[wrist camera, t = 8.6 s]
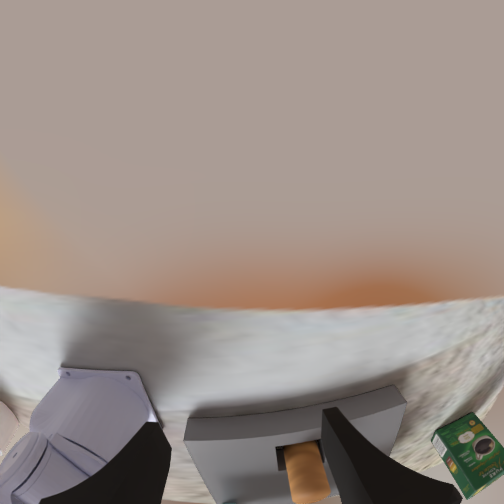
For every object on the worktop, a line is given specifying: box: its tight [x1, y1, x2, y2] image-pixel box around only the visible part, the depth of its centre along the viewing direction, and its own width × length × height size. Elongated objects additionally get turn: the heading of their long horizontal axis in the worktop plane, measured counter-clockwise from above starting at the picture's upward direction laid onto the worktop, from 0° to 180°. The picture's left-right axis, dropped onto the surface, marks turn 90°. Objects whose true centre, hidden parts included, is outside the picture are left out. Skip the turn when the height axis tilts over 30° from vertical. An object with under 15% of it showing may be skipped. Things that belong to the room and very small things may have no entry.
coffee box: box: [431, 412, 504, 500], centre depth 19 cm, size 8×3×13 cm, turn 95°
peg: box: [283, 440, 331, 504], centre depth 19 cm, size 3×3×8 cm
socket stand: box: [183, 385, 407, 504], centre depth 20 cm, size 20×16×8 cm
